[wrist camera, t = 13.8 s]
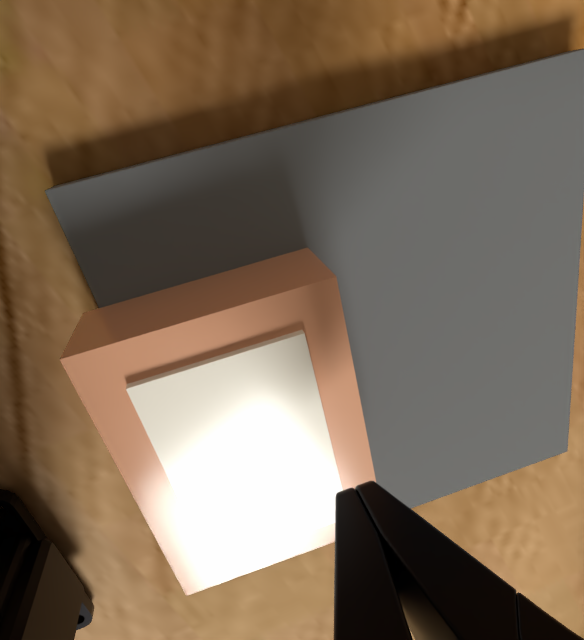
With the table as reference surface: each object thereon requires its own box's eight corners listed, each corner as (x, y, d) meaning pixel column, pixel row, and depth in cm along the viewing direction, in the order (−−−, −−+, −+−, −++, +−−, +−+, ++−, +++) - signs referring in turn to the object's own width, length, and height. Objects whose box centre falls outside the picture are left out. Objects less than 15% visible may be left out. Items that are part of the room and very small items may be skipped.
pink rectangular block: (355, 465, 16) (185, 524, 15) (307, 247, 12) (83, 312, 11) (387, 528, 13) (186, 602, 13) (339, 279, 10) (56, 364, 9)
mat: (222, 557, 17) (223, 576, 16) (53, 186, 11) (44, 190, 10) (552, 438, 18) (567, 451, 18) (569, 51, 12) (593, 46, 12)
